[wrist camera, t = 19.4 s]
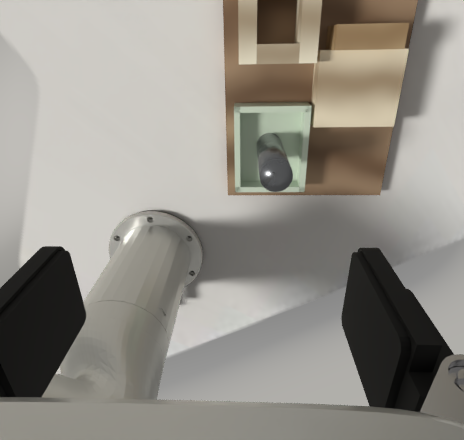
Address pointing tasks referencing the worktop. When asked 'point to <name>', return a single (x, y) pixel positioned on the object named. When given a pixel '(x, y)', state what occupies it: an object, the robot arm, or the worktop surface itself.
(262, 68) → the board
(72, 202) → the worktop surface
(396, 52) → the beige cardboard box
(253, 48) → the holder
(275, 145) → the dowel
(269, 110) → the tray
